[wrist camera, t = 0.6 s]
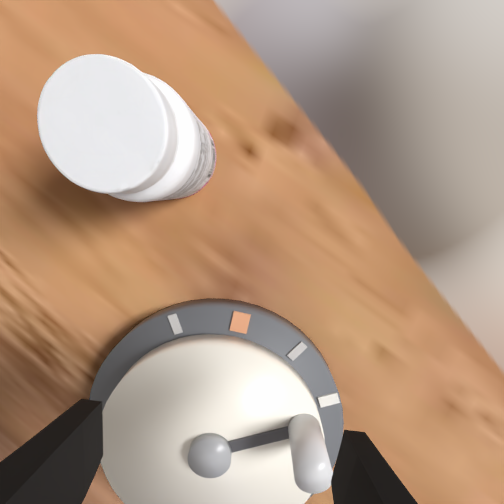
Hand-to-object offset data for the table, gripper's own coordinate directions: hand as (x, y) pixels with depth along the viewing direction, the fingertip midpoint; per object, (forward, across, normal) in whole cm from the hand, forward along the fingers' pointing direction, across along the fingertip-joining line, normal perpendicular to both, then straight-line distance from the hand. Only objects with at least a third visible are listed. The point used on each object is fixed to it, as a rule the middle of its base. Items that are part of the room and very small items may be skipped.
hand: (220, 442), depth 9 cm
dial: (+8, +1, +8) cm, 11 cm away
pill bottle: (+11, +5, -8) cm, 14 cm away
